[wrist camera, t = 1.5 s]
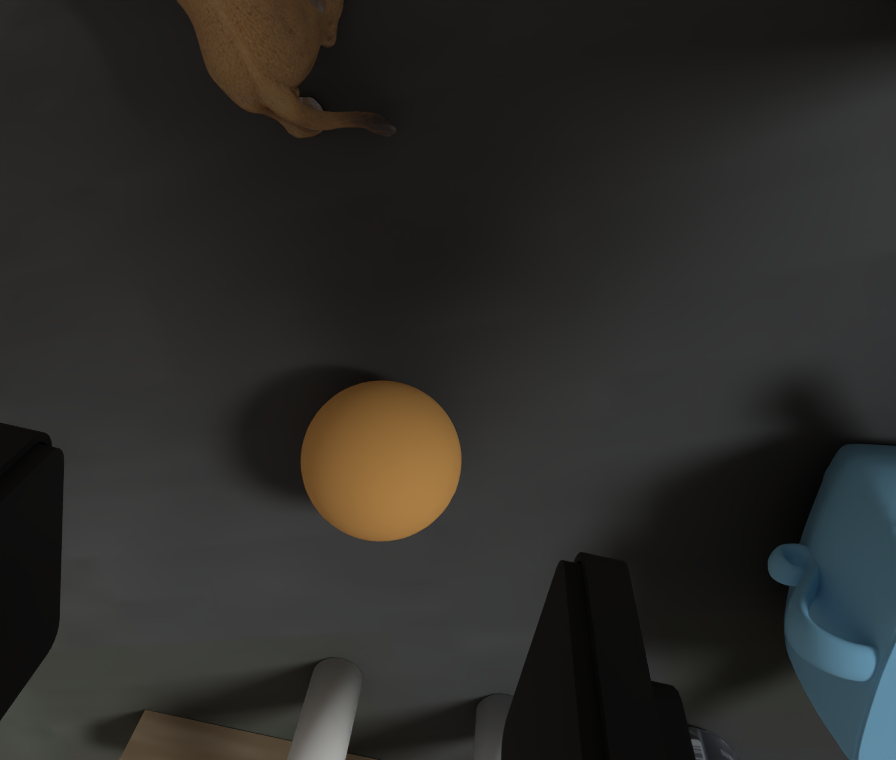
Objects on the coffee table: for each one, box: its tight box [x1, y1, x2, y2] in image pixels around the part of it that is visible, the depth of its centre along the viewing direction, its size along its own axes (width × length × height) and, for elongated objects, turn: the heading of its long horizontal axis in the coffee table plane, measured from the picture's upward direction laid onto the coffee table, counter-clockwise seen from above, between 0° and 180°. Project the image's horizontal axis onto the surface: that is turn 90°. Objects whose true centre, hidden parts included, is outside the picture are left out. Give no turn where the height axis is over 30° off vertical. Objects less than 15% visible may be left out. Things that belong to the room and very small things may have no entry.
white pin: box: [287, 658, 363, 760], centre depth 37 cm, size 2×2×8 cm
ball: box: [301, 380, 461, 541], centre depth 32 cm, size 6×6×6 cm
